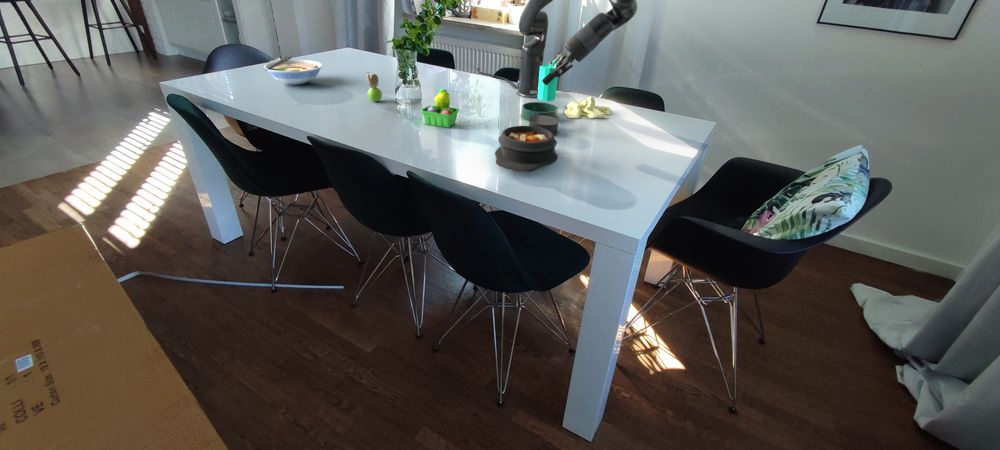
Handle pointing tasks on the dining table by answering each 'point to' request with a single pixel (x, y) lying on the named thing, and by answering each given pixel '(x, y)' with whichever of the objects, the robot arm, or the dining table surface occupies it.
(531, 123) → the stand
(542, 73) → the candle
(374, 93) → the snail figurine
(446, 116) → the fruit basket
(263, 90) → the dining table surface
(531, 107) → the tin
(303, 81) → the ramen bowl
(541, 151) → the casserole
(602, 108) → the cloth
